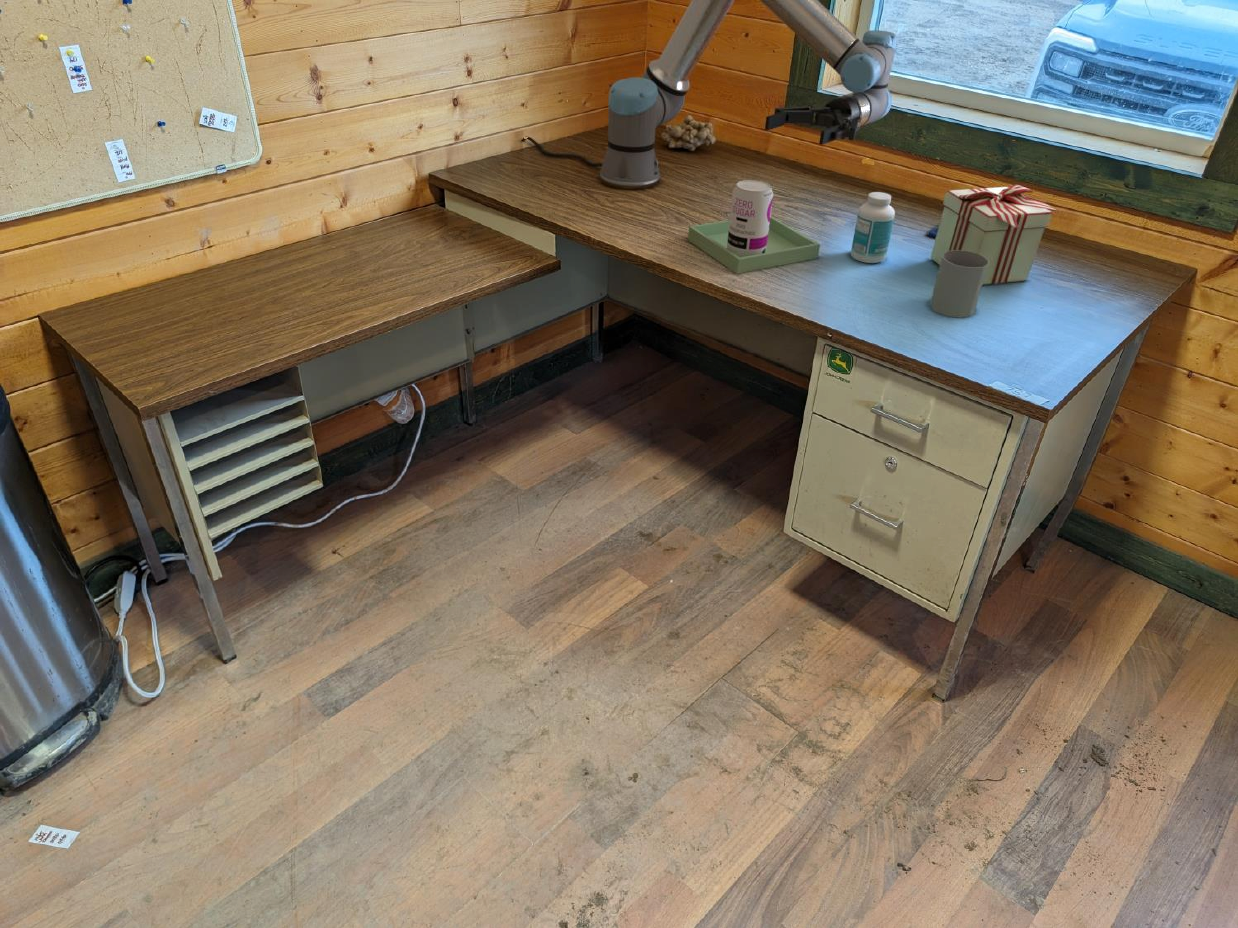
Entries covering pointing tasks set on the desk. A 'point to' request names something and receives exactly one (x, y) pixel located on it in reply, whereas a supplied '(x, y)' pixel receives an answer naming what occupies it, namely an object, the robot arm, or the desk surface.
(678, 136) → the mineral formation
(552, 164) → the desk surface
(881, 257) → the pill bottle
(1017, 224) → the gift box
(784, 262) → the tray
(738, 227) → the supplement can
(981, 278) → the cup
